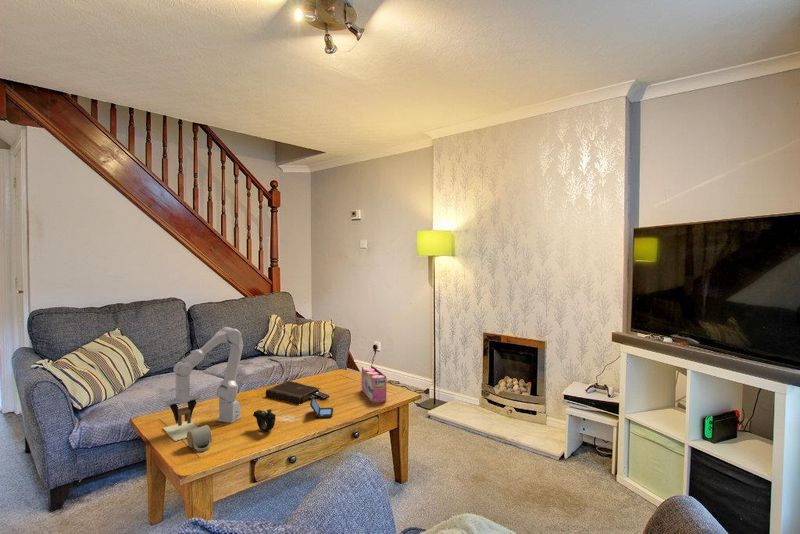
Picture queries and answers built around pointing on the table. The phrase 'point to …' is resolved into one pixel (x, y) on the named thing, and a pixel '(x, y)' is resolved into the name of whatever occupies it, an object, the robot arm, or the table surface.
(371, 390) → the gum box
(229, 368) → the robot arm
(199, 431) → the ceramic mug
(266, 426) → the controller
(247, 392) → the table surface
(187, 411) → the stool
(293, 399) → the black media player box
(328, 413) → the handheld game console
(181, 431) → the mat
